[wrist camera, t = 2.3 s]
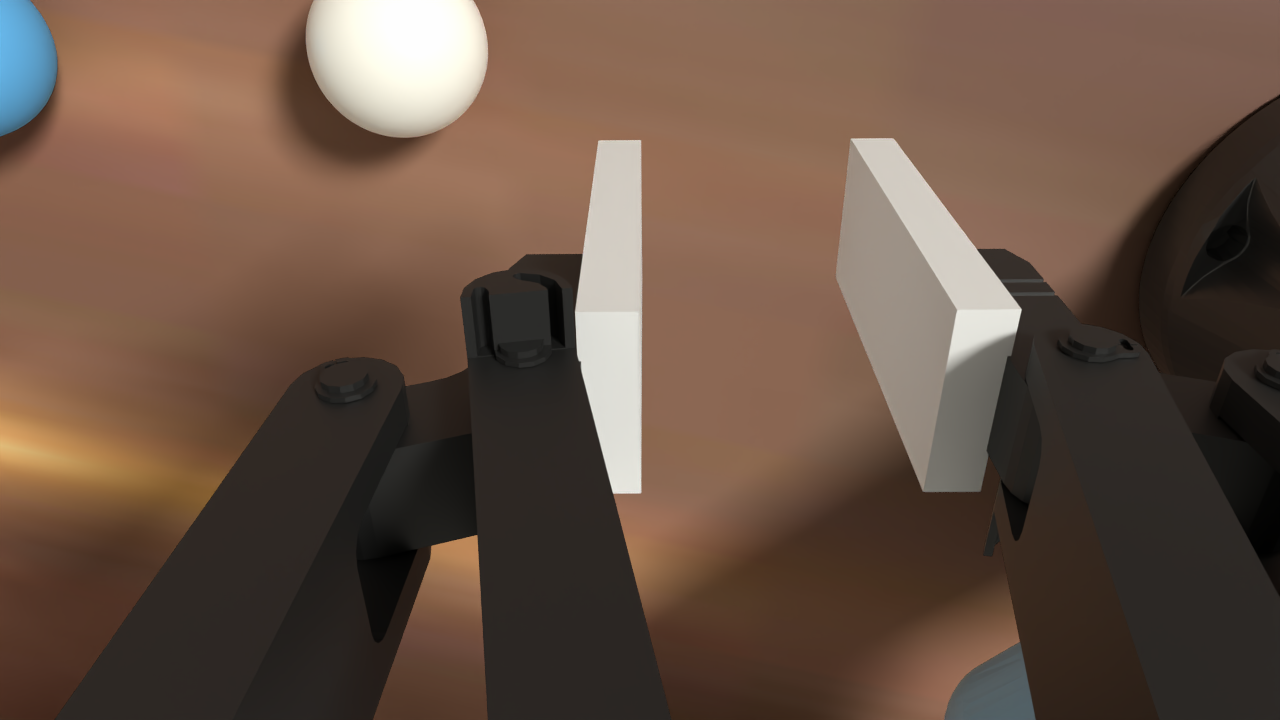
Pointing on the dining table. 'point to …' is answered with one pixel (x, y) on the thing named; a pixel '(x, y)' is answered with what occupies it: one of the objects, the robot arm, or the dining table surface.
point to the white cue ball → (398, 61)
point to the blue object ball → (24, 64)
